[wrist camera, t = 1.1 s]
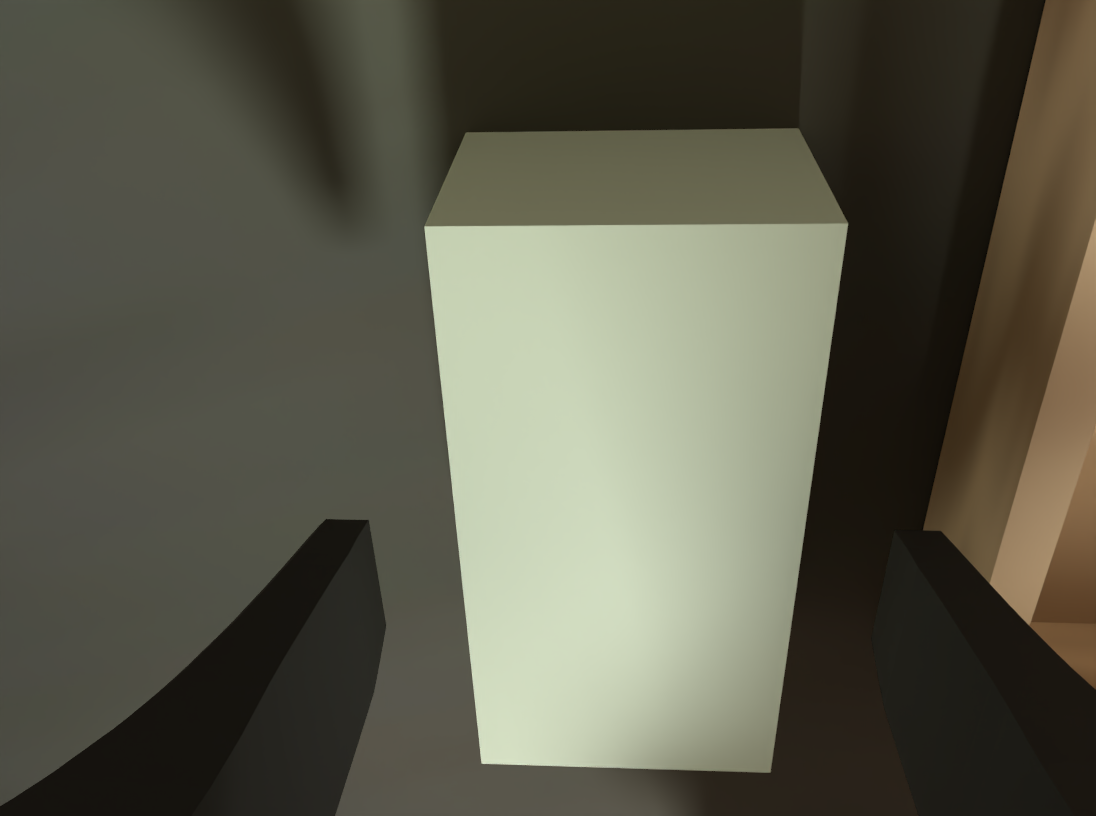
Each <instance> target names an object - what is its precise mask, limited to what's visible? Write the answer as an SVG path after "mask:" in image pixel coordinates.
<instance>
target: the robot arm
mask: <svg viewBox="0 0 1096 816" xmlns="http://www.w3.org/2000/svg"><path fill="white" fill-rule="evenodd" d="M385 629H386V622H385V616H384V610H383V604H382V598H381V592H380V586H379V580H378V574H377V568H376V562H375V556H374V550H373V544H372V538H371V532H370V526H369V520H334V519H326V520H325V521H324V522H323V523H322V524H321V525H319V527H318V528H317V529H316V530H315V531H314V532H313V533H312V534H311V536H310V537H309V538H308V539H307V540H306V541H305V542H304V544H303V545H302V546H301V547H300V548H299V549H298V551H297V552H296V553H295V554H294V555H293V556H292V557H291V559H290V560H289V561H288V562H287V563H286V564H285V565H284V567H283V568H282V569H281V570H280V571H279V572H278V573H277V574H276V575H275V577H274V578H273V579H272V580H271V581H270V582H269V583H268V584H267V586H266V587H265V588H264V589H263V590H262V591H261V592H260V593H259V594H258V595H257V596H256V597H255V598H254V599H253V601H252V602H251V603H250V604H249V605H248V606H247V607H246V608H245V609H244V610H243V611H242V612H241V613H240V614H239V615H238V617H237V618H236V619H235V620H234V621H233V622H232V623H231V624H230V625H229V626H228V627H227V628H226V629H225V630H224V631H223V632H222V633H221V634H220V635H219V636H218V637H217V638H216V639H215V640H214V641H213V642H212V643H211V644H210V645H209V646H208V647H207V648H205V649H204V650H203V651H202V652H201V653H200V654H199V655H198V656H197V657H196V658H195V659H194V660H193V661H192V662H191V663H190V664H189V665H188V666H187V667H186V668H185V669H184V670H183V671H182V672H180V673H179V674H178V675H177V676H176V677H175V678H174V679H173V680H172V681H170V682H169V683H168V684H167V685H166V686H165V687H164V688H163V689H161V690H160V691H159V692H158V693H157V694H156V695H154V696H153V697H152V698H151V699H150V700H149V701H147V702H146V703H145V704H144V705H143V706H141V707H140V708H139V709H138V710H136V711H135V712H134V713H133V714H132V715H130V716H129V717H128V718H127V719H126V720H124V721H123V722H122V723H120V724H119V725H118V726H117V727H115V728H114V729H113V730H111V731H110V732H109V733H107V734H106V735H104V736H103V737H102V738H100V739H99V740H97V741H96V742H95V743H93V744H92V745H90V746H89V747H88V748H86V749H85V750H84V751H82V752H81V753H79V754H78V755H77V756H75V757H74V758H72V759H71V760H70V761H68V762H67V763H65V764H64V765H63V766H61V767H60V768H59V769H57V770H56V771H54V772H53V773H51V774H50V775H48V776H47V777H45V778H44V779H42V780H41V781H39V782H38V783H36V784H35V785H33V786H32V787H30V788H29V789H27V790H25V791H24V792H22V793H21V794H19V795H18V796H16V797H15V798H13V799H12V800H10V801H8V802H7V803H5V804H3V805H2V806H0V816H335V814H336V811H337V807H338V804H339V801H340V798H341V795H342V792H343V789H344V786H345V782H346V779H347V776H348V773H349V770H350V767H351V764H352V761H353V757H354V754H355V751H356V748H357V745H358V742H359V739H360V735H361V732H362V729H363V726H364V723H365V719H366V716H367V713H368V710H369V706H370V703H371V700H372V697H373V693H374V689H375V684H376V679H377V674H378V668H379V663H380V658H381V652H382V646H383V641H384V635H385ZM871 639H872V645H873V651H874V657H875V662H876V668H877V674H878V679H879V684H880V689H881V694H882V699H883V704H884V709H885V712H886V715H887V718H888V722H889V725H890V728H891V731H892V734H893V738H894V741H895V744H896V747H897V750H898V753H899V756H900V760H901V763H902V766H903V769H904V772H905V775H906V778H907V781H908V784H909V787H910V790H911V793H912V796H913V800H914V803H915V806H916V809H917V812H918V815H919V816H1096V689H1095V688H1093V687H1092V686H1091V685H1090V684H1089V683H1088V682H1087V681H1086V680H1085V679H1084V678H1082V677H1081V676H1080V675H1079V674H1078V673H1077V672H1076V671H1075V670H1074V669H1073V668H1071V667H1070V666H1069V665H1068V664H1067V663H1066V662H1065V661H1064V660H1063V659H1062V658H1061V657H1060V656H1059V655H1058V654H1057V653H1056V652H1055V651H1054V650H1053V649H1052V648H1051V647H1050V646H1049V645H1048V644H1047V643H1046V642H1045V641H1044V640H1043V639H1042V638H1041V637H1040V636H1039V635H1038V634H1037V633H1036V632H1035V631H1034V630H1033V629H1032V628H1031V627H1030V626H1029V625H1028V624H1027V623H1026V622H1025V621H1024V620H1023V619H1022V618H1021V617H1020V616H1019V614H1018V613H1017V612H1016V611H1015V610H1014V609H1013V608H1012V607H1011V606H1010V605H1009V604H1008V603H1007V602H1006V601H1005V600H1004V599H1003V598H1002V596H1001V595H1000V594H999V593H998V592H997V591H996V590H995V589H994V588H993V587H992V586H991V585H990V584H989V582H988V581H987V580H986V579H985V578H984V577H983V576H982V575H981V574H980V573H979V571H978V570H977V569H976V568H975V567H974V566H973V565H972V564H971V563H970V562H969V561H968V559H967V558H966V557H965V556H964V555H963V554H962V553H961V552H960V551H959V550H958V549H957V547H956V546H955V545H954V544H953V543H952V542H951V541H950V540H949V539H948V538H947V537H946V536H945V535H944V533H943V532H942V531H927V530H894V534H893V539H892V544H891V548H890V553H889V558H888V562H887V567H886V572H885V576H884V581H883V586H882V590H881V595H880V600H879V604H878V609H877V614H876V618H875V623H874V628H873V632H872V637H871Z"/></svg>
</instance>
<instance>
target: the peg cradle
mask: <svg viewBox="0 0 1096 816" xmlns="http://www.w3.org/2000/svg"><path fill="white" fill-rule="evenodd" d="M923 530H927V531H942V532H943V533H944V535H945V536H946V537H947V538H948V539H949V540H950V541H951V542H952V543H953V544H954V545H955V546H956V547H957V549H958V550H959V551H960V552H961V553H962V554H963V555H964V556H965V557H966V558H967V559H968V561H969V562H970V563H971V564H972V565H973V566H974V567H975V568H976V569H977V570H978V571H979V573H980V574H981V575H982V576H983V577H984V578H985V579H986V580H987V581H988V582H989V584H990V585H991V586H992V587H993V588H994V589H995V590H996V591H997V592H998V593H999V594H1000V595H1001V596H1002V598H1003V599H1004V600H1005V601H1006V602H1007V603H1008V604H1009V605H1010V606H1011V607H1012V608H1013V609H1014V610H1015V611H1016V612H1017V613H1018V614H1019V616H1020V617H1021V618H1022V619H1023V620H1024V621H1025V622H1026V623H1027V624H1028V625H1029V626H1030V627H1031V628H1032V629H1033V630H1034V631H1035V632H1036V633H1037V634H1038V635H1039V636H1040V637H1041V638H1042V639H1043V640H1044V641H1045V642H1046V643H1047V644H1048V645H1049V646H1050V647H1051V648H1052V649H1053V650H1054V651H1055V652H1056V653H1057V654H1058V655H1059V656H1060V657H1061V658H1062V659H1063V660H1064V661H1065V662H1066V663H1067V664H1068V665H1069V666H1070V667H1071V668H1073V669H1074V670H1075V671H1076V672H1077V673H1078V674H1079V675H1080V676H1081V677H1082V678H1084V679H1085V680H1086V681H1087V682H1088V683H1089V684H1090V685H1091V686H1092V687H1093V688H1095V689H1096V0H1046V1H1045V5H1044V10H1043V14H1042V18H1041V23H1040V27H1039V31H1038V36H1037V40H1036V44H1035V49H1034V53H1033V57H1032V62H1031V66H1030V70H1029V75H1028V79H1027V83H1026V87H1025V92H1024V96H1023V100H1022V105H1021V109H1020V113H1019V118H1018V122H1017V126H1016V131H1015V135H1014V139H1013V144H1012V148H1011V152H1010V156H1009V161H1008V165H1007V169H1006V174H1005V178H1004V182H1003V187H1002V191H1001V195H1000V200H999V204H998V208H997V213H996V217H995V221H994V226H993V230H992V234H991V238H990V243H989V247H988V251H987V256H986V260H985V264H984V269H983V273H982V277H981V282H980V286H979V290H978V295H977V299H976V303H975V307H974V312H973V316H972V320H971V325H970V329H969V333H968V338H967V342H966V346H965V351H964V355H963V359H962V364H961V368H960V372H959V377H958V381H957V385H956V389H955V394H954V398H953V402H952V407H951V411H950V415H949V420H948V424H947V428H946V433H945V437H944V441H943V446H942V450H941V454H940V458H939V463H938V467H937V471H936V476H935V480H934V484H933V489H932V493H931V497H930V502H929V506H928V510H927V515H926V519H925V523H924V528H923Z"/></svg>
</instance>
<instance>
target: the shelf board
mask: <svg viewBox="0 0 1096 816" xmlns="http://www.w3.org/2000/svg"><path fill="white" fill-rule="evenodd" d="M424 228H425V237H426V247H427V256H428V265H429V275H430V284H431V293H432V303H433V312H434V321H435V331H436V340H437V350H438V359H439V368H440V378H441V387H442V396H443V406H444V415H445V425H446V434H447V443H448V453H449V462H450V471H451V481H452V490H453V499H454V509H455V518H456V528H457V537H458V546H459V556H460V565H461V574H462V584H463V593H464V603H465V612H466V621H467V631H468V640H469V649H470V659H471V668H472V677H473V687H474V696H475V706H476V715H477V724H478V734H479V743H480V752H481V762H482V764H511V765H542V766H574V767H605V768H636V769H668V770H699V771H731V772H762V773H770V772H771V765H772V758H773V751H774V744H775V737H776V730H777V722H778V715H779V708H780V701H781V694H782V687H783V680H784V673H785V666H786V659H787V652H788V645H789V638H790V631H791V624H792V617H793V609H794V602H795V595H796V588H797V581H798V574H799V567H800V560H801V553H802V546H803V539H804V532H805V525H806V518H807V511H808V504H809V496H810V489H811V482H812V475H813V468H814V461H815V454H816V447H817V440H818V433H819V426H820V419H821V412H822V405H823V398H824V391H825V383H826V376H827V369H828V362H829V355H830V348H831V341H832V334H833V327H834V320H835V313H836V306H837V299H838V292H839V285H840V278H841V270H842V263H843V256H844V249H845V242H846V235H847V228H848V222H847V220H846V218H845V217H844V215H843V213H842V211H841V209H840V207H839V205H838V203H837V201H836V199H835V197H834V195H833V193H832V192H831V190H830V188H829V186H828V184H827V182H826V180H825V178H824V176H823V174H822V172H821V170H820V168H819V167H818V165H817V163H816V161H815V159H814V157H813V155H812V153H811V151H810V149H809V147H808V145H807V143H806V142H805V140H804V138H803V136H802V134H801V132H800V130H799V128H784V129H704V130H624V131H544V132H466V133H465V136H464V138H463V140H462V142H461V145H460V147H459V149H458V151H457V154H456V156H455V158H454V160H453V163H452V165H451V167H450V170H449V172H448V174H447V176H446V179H445V181H444V183H443V185H442V188H441V190H440V192H439V194H438V197H437V199H436V201H435V204H434V206H433V208H432V210H431V213H430V215H429V217H428V219H427V222H426V224H425V226H424Z"/></svg>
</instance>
